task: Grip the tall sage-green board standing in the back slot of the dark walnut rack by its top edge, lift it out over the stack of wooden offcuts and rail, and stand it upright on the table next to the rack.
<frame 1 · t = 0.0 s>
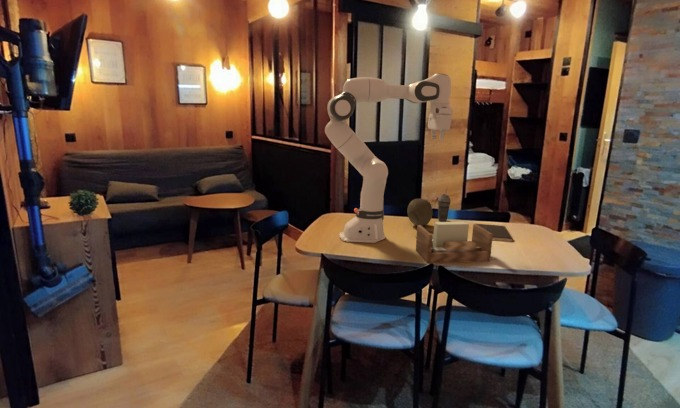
hand: (437, 139, 193), 48 cm above the table, tool pointing down, fingers open, 8 cm apart
offcut stack: (455, 259, 172), resting in walnut rack
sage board: (448, 253, 179), resting in walnut rack
beverage cup: (442, 221, 233), on the table
walnut rack: (450, 255, 177), on the table
hardcover book: (492, 235, 210), on the table
cantaloupe: (418, 226, 222), on the table
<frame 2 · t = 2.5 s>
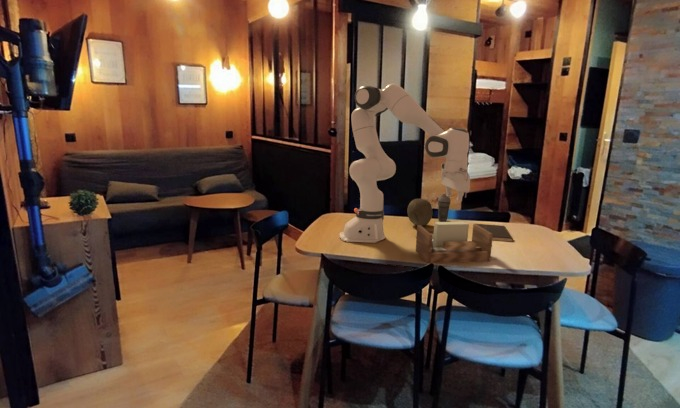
hand: (453, 199, 173), 25 cm above the table, tool pointing down, fingers open, 8 cm apart
nothing on the table moved.
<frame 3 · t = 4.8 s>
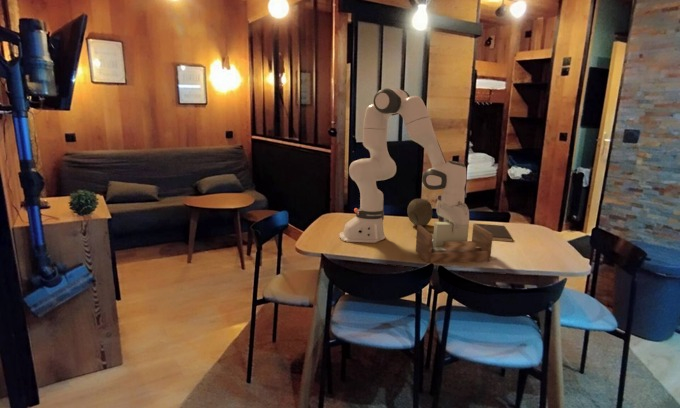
hand: (450, 230, 176), 11 cm above the table, tool pointing down, fingers closed on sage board, 4 cm apart
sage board: (448, 253, 179), resting in walnut rack, touching gripper
everything else where it was.
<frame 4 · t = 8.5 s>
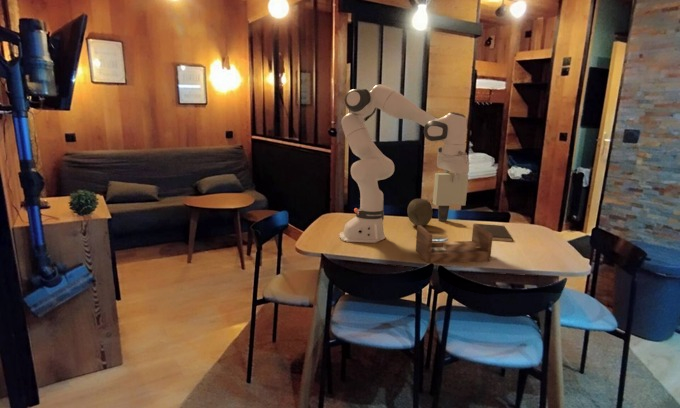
hand: (451, 181, 181), 31 cm above the table, tool pointing down, fingers closed on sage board, 4 cm apart
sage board: (448, 204, 184), point 20 cm above the table, touching gripper
everything else where it was.
when the fingers open (12 cm above the table, at t = 12.2 s): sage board drops 2 cm, on the table.
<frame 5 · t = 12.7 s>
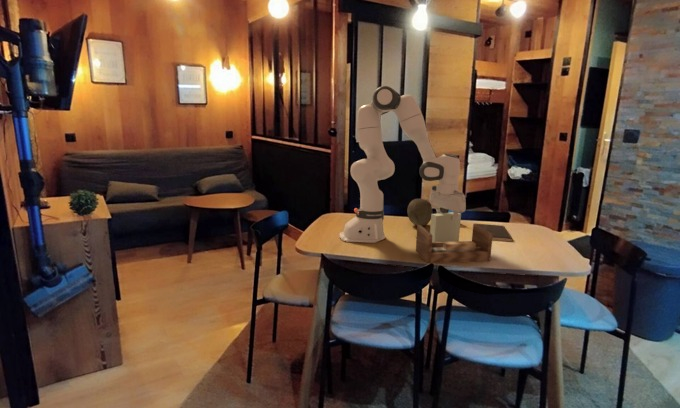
hand: (445, 217, 192), 12 cm above the table, tool pointing down, fingers open, 8 cm apart
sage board: (443, 242, 195), on the table
everything else where it was.
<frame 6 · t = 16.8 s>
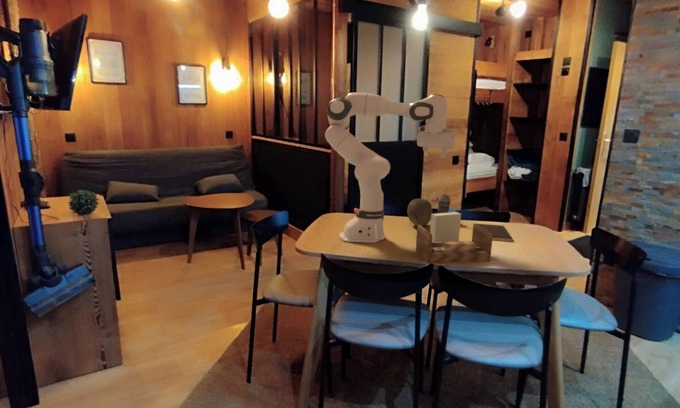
hand: (434, 156, 201), 39 cm above the table, tool pointing down, fingers open, 8 cm apart
nothing on the table moved.
at the end: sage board inside the target area (0.1 cm from its centre), on the table; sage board tilted 0°; offcut stack moved 0.4 cm from its start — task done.
